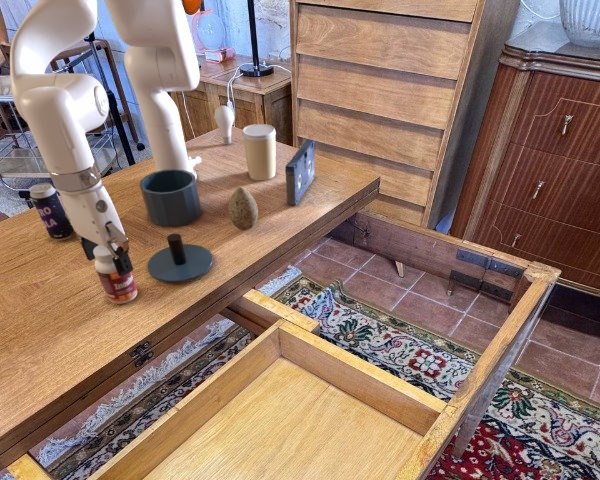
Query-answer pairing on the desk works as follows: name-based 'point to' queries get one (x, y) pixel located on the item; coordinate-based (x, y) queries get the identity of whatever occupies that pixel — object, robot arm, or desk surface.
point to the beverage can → (51, 211)
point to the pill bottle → (113, 277)
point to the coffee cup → (260, 150)
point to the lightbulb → (224, 122)
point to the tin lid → (179, 261)
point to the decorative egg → (243, 209)
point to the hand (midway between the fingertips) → (110, 265)
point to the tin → (171, 197)
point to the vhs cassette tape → (300, 172)
